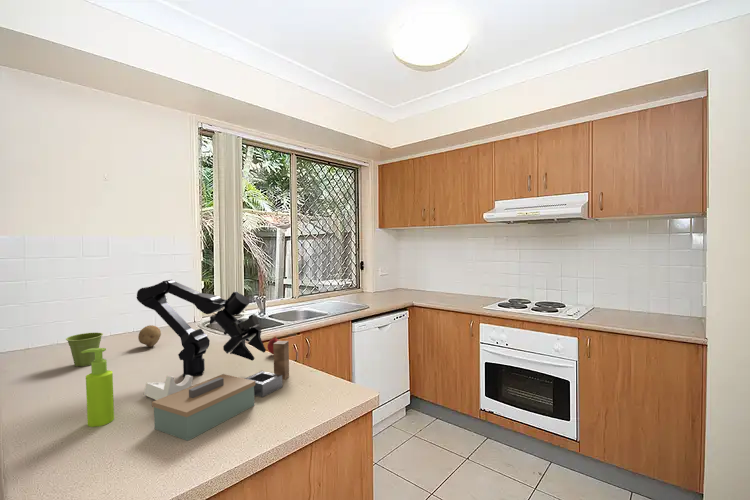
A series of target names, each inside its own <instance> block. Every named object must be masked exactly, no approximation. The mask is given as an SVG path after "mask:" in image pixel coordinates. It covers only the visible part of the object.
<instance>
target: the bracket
mask: <svg viewBox="0 0 750 500" xmlns="http://www.w3.org/2000/svg"><path fill="white" fill-rule="evenodd" d="M183 378H184V379H183V380H182V381H181V382H179V383H176V382H175V377H174V376H172V375H166V378H165V381H152V382H146V383H145V387H144V391H143V395H144V396H147V397H148V398H150V399H152V400H154V401H156V400H158V399H161V398H163V397H166V396H168V395H171V394H173V393H176V392H179V391H181V390H184V389H186V388H189V387H191V386H192V384H193V379H194V376H190V375H186V376H185V377H183Z"/></svg>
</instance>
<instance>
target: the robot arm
mask: <svg viewBox="0 0 750 500" xmlns="http://www.w3.org/2000/svg"><path fill="white" fill-rule="evenodd" d="M167 294H171V295H173V296H174V297H178V298H180V299H182V300H184V301H186V302H189V303H191V304H193V305H194V306H195V307H196V309H197V310H199V311H200V312H202V313H203V314H204V315H211V314H214V313H215V315H211V316H210V317H209V324H210V325H212V324H216V323H217V324H218V325H219V327H221V329H223V330H224V331H223V334H224V336H226V335H228V336H229V337H230V338H229V340H228V341H227V342H225V344H224V345H223V346H222V347H223V348H222V349H223V351H224V352H225V353H226V354H230V355H235V356H238V357H241V358H243V359H247V360H250V361H254V360H255V359H256V358H255V357H254V354H253V353H252V352H251V350H249V348H248V347H247V345H246V342H247V344H248V345H250V346H252V347H253V348H255V349H256V350H258V351H260V352H262V353H266V352H267V350H266V347H265V345H264V343H263V341H262V338H261V335H262V329H263V328H262V327H261V326H260V325H259V324H260V321H259V320H260V317H259V316H258V315H256V314H255V313H253V314H250V315H249V316H248V319H245V320H243V319H241V318H239V319H238V318H237V317H235V316H240V314H241V313H242V312H243V311H244V310H245V309H246V308H247V307H248V305H249V304H250V300H249V298H248V297H247V296H245V295H244V294H241V293H239V292H238V291H237V290H236V291H233V292H232V293H231V295H230V296H229V297H228V298H227V299H224V298H222V297H220V296H219V295H215V294H211V293H205V292H200V291H198V290H195V289H193V288H191V287H188V286H186V285H184V284H182V283H180V282H178V281H176V280H174V279H167V280H163V281H162V282H158V283H157V284H153V285H152V286H145V287H141V288H139V289H138V290H137V292H136V300H137V301H138V303H140V304H142V306H144V307H146V308H148V309H151V310H153V311H155V313H156V314H157V315H158V316H159V317H160V318H161V319H162V320H163V321H164V322H165V323H166V324H167V325H168V326H169V327H170V329H172V331H173V332H174V333H176V335H177V336H178V337H179V338H180V341H181V342H180V343H181V346H182V347H183V349H182V350H181V351H180V352H179V353H178V354H177V356H178V358H179V360H180V361H182V362H183V363H182V367H183V368H182V369H183V370H182V371H183V374H182V378H185V376H186V375H190V376H193V377H194V376H202V375H203V374H204V372H205V368H206V367H205V366H206V365H205V362H206V361H205V358H203V357H204V354H206V352H207V350H208V349H209V347H210V339H209V335H208V334H206V333H205V332H204V330H203V329H202V328H198V329H194V328H192V327H191V325H189V323H188V322H186V320H184V318H183V317H182V316H181V315H180V314H179V313H178V312H177V311H176V310H175V309H174V307H172V306H171V305H170V304H169V303H168V301H167V298H166V297H167V296H166V295H167Z"/></svg>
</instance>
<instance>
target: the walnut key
mask: <svg viewBox="0 0 750 500" xmlns="http://www.w3.org/2000/svg"><path fill="white" fill-rule="evenodd" d="M289 347H290V346H289V340H280V341H277V342H275V343H274V344H273V352H274V355H273V373H274V374H279V375H282V381H285V380H286V379H288V378H289V376H290V351H289V349H290V348H289Z"/></svg>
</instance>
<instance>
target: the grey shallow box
mask: <svg viewBox="0 0 750 500" xmlns="http://www.w3.org/2000/svg"><path fill="white" fill-rule="evenodd" d="M244 379H248V380H253V381H255V386H254V391H255V396H256V397H260V398H264V397H266V396H268V395H270V394H272V393H274V392H276V391H278V390H279V389H282V388H283V380H282V375H279V374H274V372H268V371H262V370H261V371H259V372H256V373H254V374H251V375H250V376H247V377H245V378H244ZM255 396H254V397H255Z"/></svg>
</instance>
